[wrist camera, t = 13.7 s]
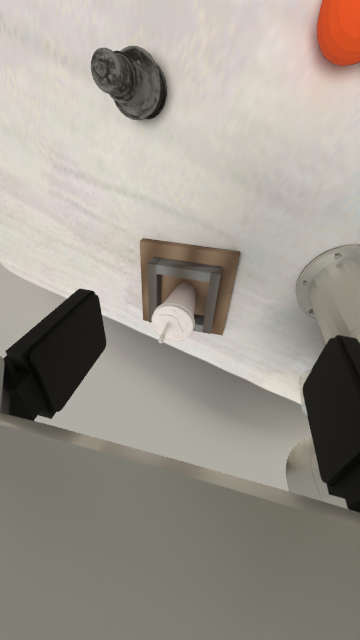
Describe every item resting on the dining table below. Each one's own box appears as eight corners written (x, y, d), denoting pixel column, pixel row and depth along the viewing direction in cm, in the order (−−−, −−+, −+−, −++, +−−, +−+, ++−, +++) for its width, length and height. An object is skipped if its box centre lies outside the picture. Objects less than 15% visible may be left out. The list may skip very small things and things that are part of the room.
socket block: (240, 251, 38) (239, 263, 34) (223, 330, 47) (221, 345, 44) (143, 238, 40) (132, 247, 37) (145, 315, 50) (137, 329, 46)
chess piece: (143, 133, 32) (97, 129, 22) (113, 83, 30) (49, 56, 20) (178, 98, 29) (144, 76, 20) (149, 40, 27) (94, -17, 17)
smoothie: (183, 268, 40) (158, 315, 29) (211, 293, 41) (198, 347, 30) (161, 291, 44) (131, 341, 33) (187, 313, 45) (167, 368, 34)
